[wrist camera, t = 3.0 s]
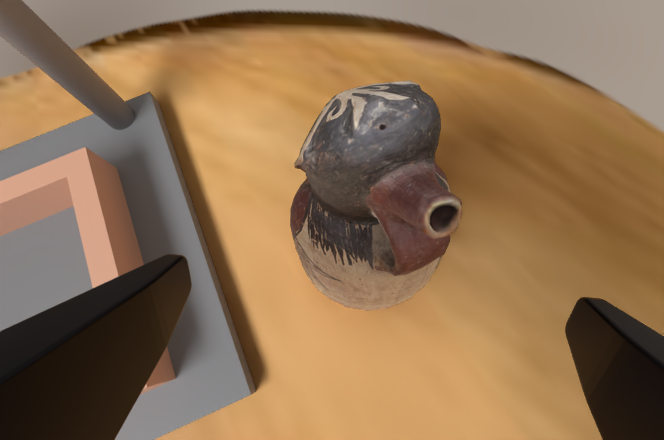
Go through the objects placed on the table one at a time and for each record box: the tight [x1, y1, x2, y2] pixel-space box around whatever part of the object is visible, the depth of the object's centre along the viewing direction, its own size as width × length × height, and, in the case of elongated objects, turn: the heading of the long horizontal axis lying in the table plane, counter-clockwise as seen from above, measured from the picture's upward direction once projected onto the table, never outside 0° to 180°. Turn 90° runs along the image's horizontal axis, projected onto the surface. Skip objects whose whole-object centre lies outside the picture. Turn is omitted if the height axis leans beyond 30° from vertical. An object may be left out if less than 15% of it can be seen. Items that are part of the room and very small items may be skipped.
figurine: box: [290, 81, 462, 311], centre depth 14 cm, size 7×7×12 cm
